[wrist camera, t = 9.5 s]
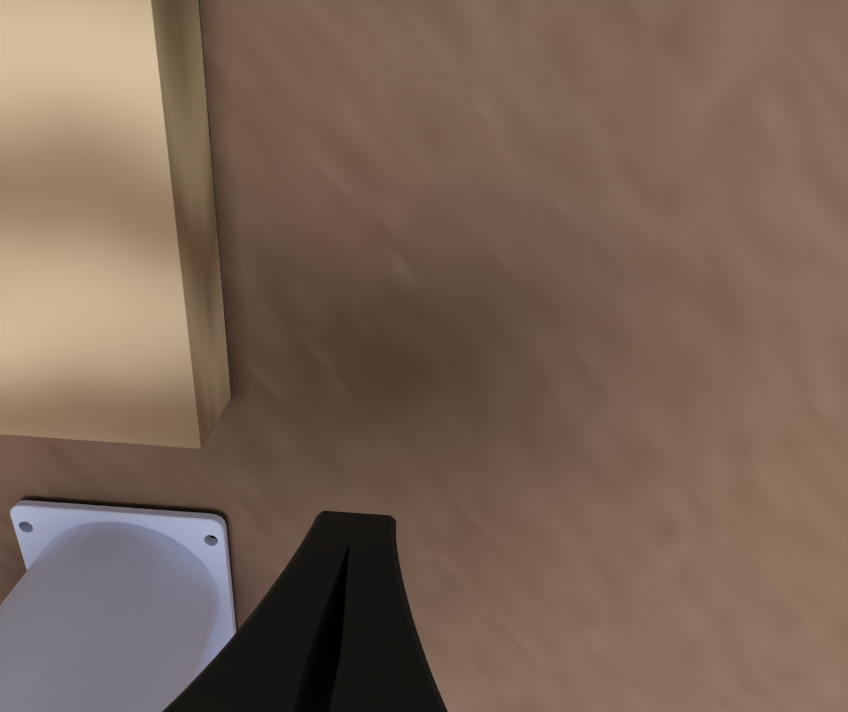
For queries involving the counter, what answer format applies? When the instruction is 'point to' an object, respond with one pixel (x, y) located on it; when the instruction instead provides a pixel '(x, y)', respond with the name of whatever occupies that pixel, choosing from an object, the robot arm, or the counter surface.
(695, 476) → the counter surface
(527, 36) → the counter surface
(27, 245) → the board
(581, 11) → the counter surface
